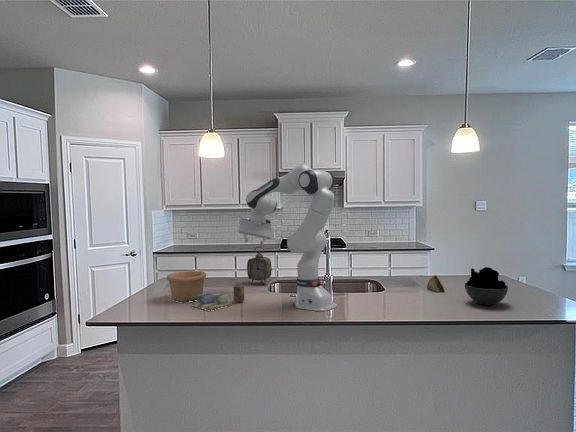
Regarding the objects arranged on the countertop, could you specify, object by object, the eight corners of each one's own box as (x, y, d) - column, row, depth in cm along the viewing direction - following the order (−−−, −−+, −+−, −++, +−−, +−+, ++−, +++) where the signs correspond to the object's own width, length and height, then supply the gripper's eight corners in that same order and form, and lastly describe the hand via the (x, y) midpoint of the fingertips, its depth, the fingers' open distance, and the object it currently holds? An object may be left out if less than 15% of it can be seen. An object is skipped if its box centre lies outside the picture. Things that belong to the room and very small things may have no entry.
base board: (231, 305, 215) (231, 294, 214) (210, 311, 204) (209, 299, 204) (213, 300, 225) (213, 290, 225) (192, 306, 215) (191, 295, 215)
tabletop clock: (247, 284, 265) (246, 247, 264) (253, 281, 273) (252, 245, 272) (267, 286, 259) (266, 247, 258) (273, 283, 267) (272, 246, 266)
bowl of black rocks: (508, 302, 210) (508, 266, 209) (507, 311, 193) (507, 273, 192) (467, 297, 220) (467, 263, 219) (462, 306, 203) (462, 269, 202)
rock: (421, 284, 244) (426, 286, 234) (429, 273, 244) (434, 274, 234) (436, 295, 243) (442, 297, 233) (444, 284, 243) (450, 285, 233)
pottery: (197, 305, 218) (196, 278, 217) (160, 303, 222) (159, 277, 221) (212, 295, 239) (212, 271, 238) (178, 294, 243) (177, 270, 243)
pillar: (244, 301, 223) (243, 285, 222) (241, 303, 219) (241, 287, 218) (236, 301, 224) (236, 285, 223) (233, 303, 219) (233, 287, 219)
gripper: (241, 215, 229) (237, 238, 224) (274, 222, 236) (272, 245, 231) (238, 218, 235) (235, 241, 230) (271, 225, 241) (268, 247, 236)
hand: (254, 243), depth 230 cm, fingers open, 8 cm apart
